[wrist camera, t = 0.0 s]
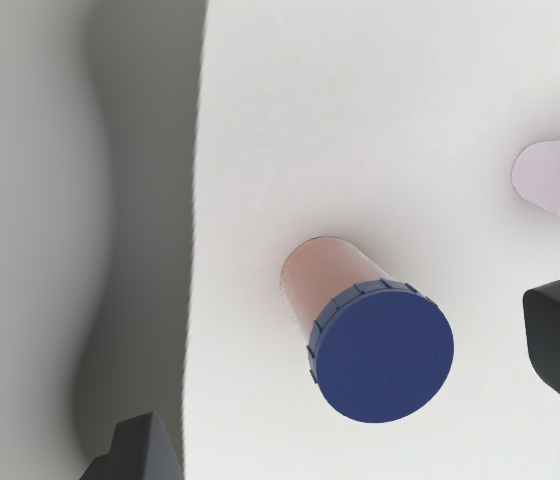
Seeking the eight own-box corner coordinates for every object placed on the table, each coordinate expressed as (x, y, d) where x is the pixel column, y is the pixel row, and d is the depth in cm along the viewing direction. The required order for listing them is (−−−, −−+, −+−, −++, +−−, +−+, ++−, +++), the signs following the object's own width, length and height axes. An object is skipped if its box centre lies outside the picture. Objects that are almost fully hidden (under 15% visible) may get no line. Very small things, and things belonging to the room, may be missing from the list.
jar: (292, 227, 27) (339, 281, 18) (378, 246, 28) (460, 305, 19) (270, 314, 28) (303, 404, 19) (353, 328, 29) (421, 419, 21)
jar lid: (327, 266, 19) (337, 278, 18) (455, 291, 20) (474, 304, 19) (291, 395, 20) (298, 415, 19) (414, 411, 22) (429, 431, 20)
